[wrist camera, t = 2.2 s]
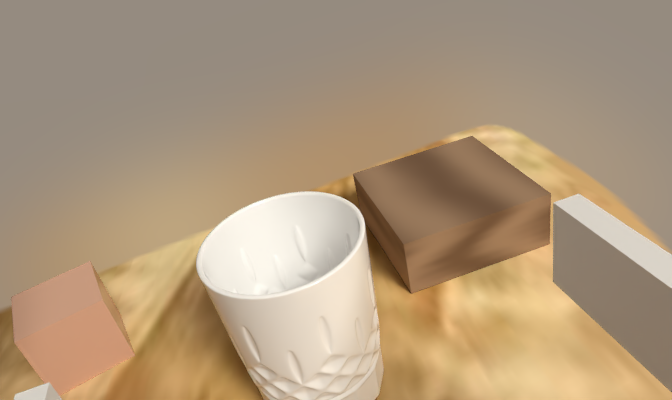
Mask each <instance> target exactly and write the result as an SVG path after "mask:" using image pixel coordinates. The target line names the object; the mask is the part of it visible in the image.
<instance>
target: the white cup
mask: <svg viewBox="0 0 672 400" xmlns="http://www.w3.org/2000/svg"><path fill="white" fill-rule="evenodd" d="M196 268H197V272H198V275H199V277H200V279H201V281H202V283H203V285H204V287H205V289H206V291H207V293H208V295H209V297H210V299H211V301H212V303H213V305H214V307H215V309H216V311H217V313H218V315H219V317H220V319H221V321H222V323H223V325H224V327H225V329H226V331H227V333H228V335H229V337H230V339H231V341H232V343H233V345H234V347H235V349H236V351H237V353H238V355H239V356H240V358H241V360H242V362H243V363H244V365H245V367H246V369H247V371H248V373H249V375H250V377H251V378H252V380H253V382H254V383H255V385H256V386H257V387H258V389H259V391H260V393H261V395H262V397H263V399H264V400H375V399H376V398H377V396H378V395H379V393H380V388H381V383H382V378H383V373H384V366H383V360H382V354H381V348H380V329H379V321H378V315H377V302H376V295H375V288H374V282H373V275H372V269H371V262H370V255H369V249H368V242H367V234H366V227H365V221H364V218H363V215H362V214H361V212H360V210H359V209H358V208H357V207H356V206H355V205H354V204H353V203H351V202H350V201H348V200H346V199H344V198H342V197H340V196H337V195H333V194H329V193H323V192H293V193H287V194H281V195H277V196H273V197H269V198H266V199H263V200H260V201H258V202H255V203H253V204H250V205H248V206H246V207H244V208H242V209H240V210H238V211H237V212H235V213H233V214H232V215H231V216H229V217H227V218H226V219H224V220H223V221H222V222H221V223H219V224H218V225H217V226H216V227H215V228H214V229H213V230H212V231H211V232H210V233H209V234H208V236H207V237H206V238H205V240H204V241H203V243H202V245H201V246H200V249H199V251H198V254H197V259H196Z"/></svg>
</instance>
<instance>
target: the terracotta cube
mask: <svg viewBox="0 0 672 400" xmlns="http://www.w3.org/2000/svg"><path fill="white" fill-rule="evenodd" d="M11 299H12V316H13V332H14V343H15V344H16V346H17V347H18V348H19V350H20V351H21V352H22V354H23V355H24V356H25V358H26V359H27V361H28V362H29V363H30V365H31V366H32V367H33V369H34V370H35V371H36V373H37V374H38V375H39V377H40V378H41V379H42V381H43V382H44V383H45V384H46V383H48V382H50V384H51V385H52V386H53V388H54V389H55V390H56V392H57V393H58V395H59V396H60V395H62V394H64V393H66V392H67V391H69V390H71V389H73V388H75V387H77V386H79V385H81V384H82V383H84V382H86V381H88V380H90V379H92V378H94V377H96V376H97V375H99V374H101V373H103V372H105V371H107V370H109V369H111V368H112V367H114V366H116V365H118V364H120V363H122V362H124V361H125V360H127V359H129V358H131V357H133V356H135V354H134V351H133V348H132V345H131V343H130V340H129V337H128V334H127V331H126V329H125V326H124V323H123V320H122V317H121V315H120V312H119V311H118V309H117V307H116V305H115V304H114V302H113V300H112V298H111V297H110V295H109V293H108V291H107V290H106V288H105V286H104V284H103V282H102V281H101V279H100V277H99V275H98V274H97V272H96V270H95V268H94V267H93V265H92V263H91V261H89V262H87V263H85V264H82V265H80V266H78V267H76V268H74V269H71V270H69V271H67V272H65V273H63V274H60V275H58V276H56V277H54V278H52V279H50V280H48V281H45V282H43V283H41V284H38V285H36V286H34V287H32V288H30V289H28V290H25V291H23V292H21V293H19V294H17V295H14V296H12V297H11Z"/></svg>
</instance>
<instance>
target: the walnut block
mask: <svg viewBox="0 0 672 400" xmlns="http://www.w3.org/2000/svg"><path fill="white" fill-rule="evenodd" d="M353 176H354V181H355V186H356V191H357V196H358V201H359V206H360V211H361V214H362V215H363V218H364V221H365V222H366V224H367V226H368V227H369V229H370V230H371V232H372V233H373V235H374V236H375V238H376V240H377V241H378V243H379V244H380V246H381V247H382V249H383V250H384V252H385V253H386V255H387V257H388V258H389V260H390V261H391V263H392V264H393V266H394V267H395V269H396V270H397V272H398V274H399V275H400V277H401V278H402V280H403V281H404V283H405V284H406V286H407V287H408V289H409V291H410V292H411V293H414V292H417V291H420V290H422V289H425V288H428V287H431V286H434V285H436V284H439V283H442V282H445V281H448V280H450V279H453V278H456V277H459V276H461V275H464V274H467V273H470V272H473V271H475V270H478V269H481V268H484V267H486V266H489V265H492V264H495V263H498V262H500V261H503V260H506V259H509V258H512V257H514V256H517V255H520V254H523V253H525V252H528V251H531V250H534V249H537V248H539V247H542V246H545V245H548V244H550V207H551V193H549V192H548V191H547V190H545V189H544V188H542V187H541V186H540V185H538V184H537V183H536V182H534V181H533V180H532V179H530V178H529V177H527V176H526V175H525V174H523V173H522V172H521V171H519V170H518V169H517V168H515V167H514V166H512V165H511V164H510V163H508V162H507V161H506V160H504V159H503V158H501V157H500V156H499V155H497V154H496V153H495V152H493V151H492V150H491V149H489V148H488V147H486V146H485V145H484V144H482V143H481V142H480V141H478V140H477V139H476V138H474V137H473V136H470V137H467V138H464V139H461V140H458V141H454V142H451V143H448V144H445V145H442V146H439V147H436V148H433V149H429V150H426V151H423V152H420V153H417V154H414V155H411V156H407V157H404V158H401V159H398V160H395V161H392V162H389V163H386V164H382V165H379V166H376V167H373V168H370V169H367V170H364V171H360V172H357V173H354V174H353Z"/></svg>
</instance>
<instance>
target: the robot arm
mask: <svg viewBox="0 0 672 400" xmlns="http://www.w3.org/2000/svg"><path fill="white" fill-rule="evenodd" d="M553 282H554V283H555V284H556V285H557V286H558V287H559V288H560V289H561V290H562V291H563V292H565V293H566V294H567V295H568V296H569V297H570V298H571V299H572V300H573V301H574V302H575V303H576V304H577V305H579V306H580V307H581V308H582V309H583V310H584V311H585V312H586V313H587V314H588V315H589V316H590V317H591V318H592V319H594V320H595V321H596V322H597V323H598V324H599V325H600V326H601V327H602V328H603V329H604V330H605V331H606V332H607V333H609V334H610V335H611V336H612V337H613V338H614V339H615V340H616V341H617V342H618V343H619V344H620V345H621V346H622V347H624V348H625V349H626V350H627V351H628V352H629V353H630V354H631V355H632V356H633V357H634V358H635V359H636V360H637V361H639V362H640V363H641V364H642V365H643V366H644V367H645V368H646V369H647V370H648V371H649V372H650V373H651V374H653V375H654V376H655V377H656V378H657V379H658V380H659V381H660V382H661V383H662V384H663V385H664V386H665V387H666V388H668V389H669V390H670V391H671V392H672V255H671V254H670V253H668V252H667V251H665V250H664V249H662V248H661V247H659V246H658V245H656V244H655V243H653V242H651V241H650V240H648V239H647V238H645V237H644V236H642V235H641V234H639V233H638V232H636V231H635V230H633V229H632V228H630V227H629V226H627V225H626V224H624V223H623V222H621V221H620V220H618V219H617V218H615V217H614V216H612V215H611V214H609V213H608V212H606V211H605V210H603V209H601V208H600V207H598V206H597V205H595V204H594V203H592V202H591V201H589V200H588V199H586V198H585V197H583V196H582V195H580V194H576V195H574V196H571V197H568V198H565V199H562V200H560V201H557V202H554V203H553ZM14 400H62V399H61V397H60V396H59V395H58V393H57V392H56V390H55V389H54V388H53V386H52V385H51V384H50V382H48V383H46V384H43V385H40V386H37V387H34V388H32V389H29V390H26V391H23V392H20V393H17V394H15V397H14Z"/></svg>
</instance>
